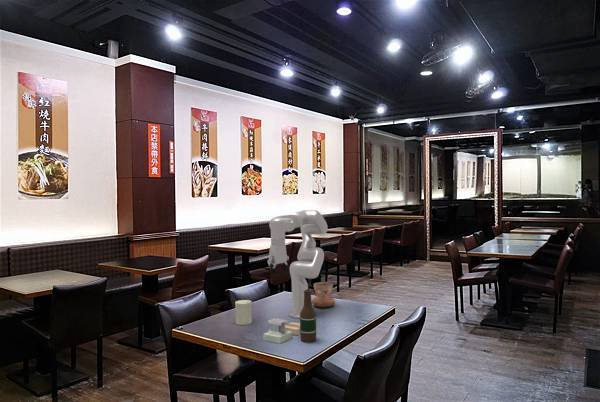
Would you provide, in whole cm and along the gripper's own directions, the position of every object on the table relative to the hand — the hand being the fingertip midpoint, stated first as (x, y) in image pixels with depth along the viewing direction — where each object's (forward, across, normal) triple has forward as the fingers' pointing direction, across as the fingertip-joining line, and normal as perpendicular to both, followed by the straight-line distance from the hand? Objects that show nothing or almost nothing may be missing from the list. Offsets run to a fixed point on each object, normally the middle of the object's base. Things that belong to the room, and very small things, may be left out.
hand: (278, 274), depth 229 cm
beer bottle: (+28, +10, +25) cm, 39 cm away
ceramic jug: (+29, -51, -4) cm, 59 cm away
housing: (+25, +16, +11) cm, 32 cm away
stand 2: (+28, +2, +11) cm, 30 cm away
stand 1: (+28, +16, +11) cm, 34 cm away
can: (+28, +3, -23) cm, 37 cm away
